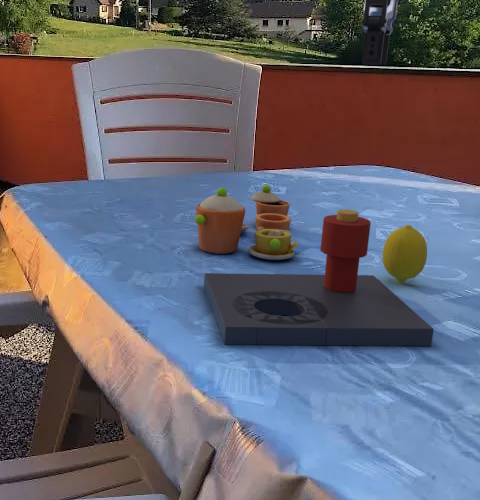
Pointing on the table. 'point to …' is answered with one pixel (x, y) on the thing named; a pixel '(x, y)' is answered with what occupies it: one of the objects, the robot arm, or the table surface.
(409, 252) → the lemon
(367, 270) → the table surface
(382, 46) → the robot arm
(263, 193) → the toy tea set
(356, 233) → the stopper
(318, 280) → the grey board with hole
